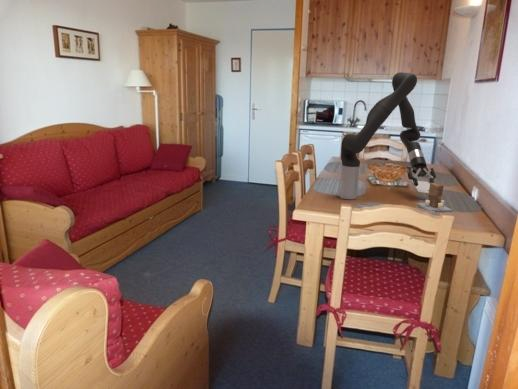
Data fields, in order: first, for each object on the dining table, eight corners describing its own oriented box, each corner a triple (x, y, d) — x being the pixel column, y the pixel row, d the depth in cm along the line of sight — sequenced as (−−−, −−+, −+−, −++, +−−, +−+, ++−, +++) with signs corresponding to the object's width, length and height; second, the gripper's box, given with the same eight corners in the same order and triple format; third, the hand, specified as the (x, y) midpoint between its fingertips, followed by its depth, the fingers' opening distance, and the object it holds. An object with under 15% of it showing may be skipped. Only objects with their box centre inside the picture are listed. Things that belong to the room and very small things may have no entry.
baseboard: (431, 184, 255) (411, 182, 258) (431, 179, 254) (411, 178, 257) (440, 196, 226) (418, 194, 228) (441, 191, 225) (418, 189, 228)
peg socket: (428, 211, 193) (429, 203, 192) (416, 204, 205) (417, 197, 204) (452, 211, 194) (453, 204, 193) (438, 204, 206) (439, 197, 205)
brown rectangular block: (433, 207, 197) (436, 185, 194) (426, 204, 203) (430, 182, 200) (439, 207, 197) (443, 185, 194) (433, 204, 203) (436, 183, 200)
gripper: (407, 155, 212) (414, 181, 204) (432, 156, 214) (441, 182, 206) (401, 163, 219) (408, 189, 211) (426, 164, 220) (434, 189, 212)
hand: (424, 185), depth 208 cm, fingers open, 8 cm apart
